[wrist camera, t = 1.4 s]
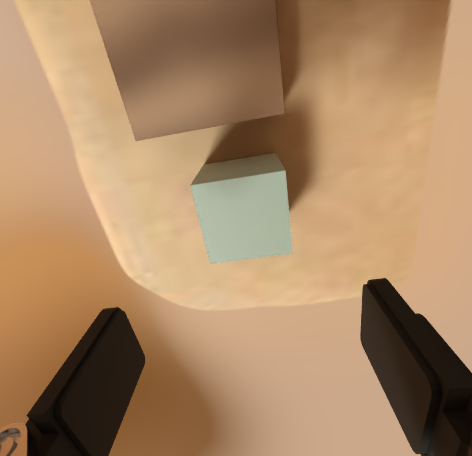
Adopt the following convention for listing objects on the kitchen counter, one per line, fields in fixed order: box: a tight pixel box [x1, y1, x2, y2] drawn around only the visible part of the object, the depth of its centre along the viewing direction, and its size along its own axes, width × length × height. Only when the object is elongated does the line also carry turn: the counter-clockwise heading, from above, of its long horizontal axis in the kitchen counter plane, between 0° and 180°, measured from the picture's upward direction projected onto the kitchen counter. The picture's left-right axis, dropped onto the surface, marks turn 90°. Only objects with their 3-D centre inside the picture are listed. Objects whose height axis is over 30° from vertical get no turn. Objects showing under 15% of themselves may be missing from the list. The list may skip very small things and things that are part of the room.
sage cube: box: [190, 153, 293, 264], centre depth 20 cm, size 6×6×6 cm
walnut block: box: [90, 0, 285, 141], centre depth 17 cm, size 10×10×4 cm
